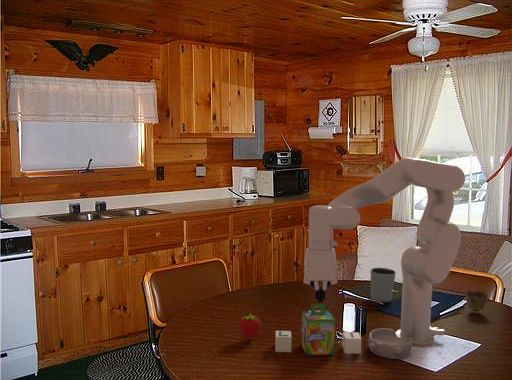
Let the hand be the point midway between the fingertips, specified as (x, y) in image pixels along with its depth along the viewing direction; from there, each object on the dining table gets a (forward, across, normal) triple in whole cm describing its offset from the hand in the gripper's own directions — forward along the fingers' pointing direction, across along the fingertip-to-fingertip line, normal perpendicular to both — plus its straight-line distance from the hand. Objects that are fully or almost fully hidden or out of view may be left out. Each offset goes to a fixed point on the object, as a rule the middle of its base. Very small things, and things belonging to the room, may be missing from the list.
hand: (320, 301), depth 165 cm
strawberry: (+16, +23, -6) cm, 28 cm away
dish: (+17, -22, 0) cm, 28 cm away
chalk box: (+16, +1, 0) cm, 16 cm away
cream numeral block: (+16, -10, 0) cm, 19 cm away
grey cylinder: (+17, -31, -51) cm, 62 cm away
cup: (+18, -64, -36) cm, 76 cm away
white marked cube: (+16, +12, 0) cm, 20 cm away
